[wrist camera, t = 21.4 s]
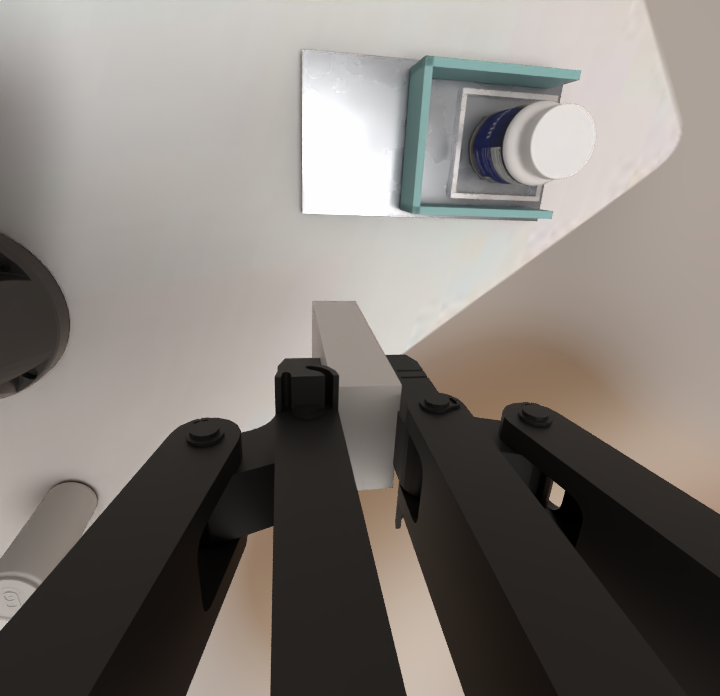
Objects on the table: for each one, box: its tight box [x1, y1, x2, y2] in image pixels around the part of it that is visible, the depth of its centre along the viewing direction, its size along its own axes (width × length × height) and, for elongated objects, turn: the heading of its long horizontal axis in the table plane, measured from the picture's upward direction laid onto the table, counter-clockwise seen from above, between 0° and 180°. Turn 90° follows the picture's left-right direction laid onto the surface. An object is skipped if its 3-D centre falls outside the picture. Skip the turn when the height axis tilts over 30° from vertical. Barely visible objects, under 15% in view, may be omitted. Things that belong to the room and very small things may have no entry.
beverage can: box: [0, 482, 97, 621], centre depth 41 cm, size 5×5×12 cm
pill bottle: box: [470, 101, 596, 186], centre depth 34 cm, size 6×6×10 cm
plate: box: [302, 49, 563, 221], centre depth 38 cm, size 22×12×2 cm, turn 87°
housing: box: [400, 56, 581, 219], centre depth 36 cm, size 12×11×4 cm
